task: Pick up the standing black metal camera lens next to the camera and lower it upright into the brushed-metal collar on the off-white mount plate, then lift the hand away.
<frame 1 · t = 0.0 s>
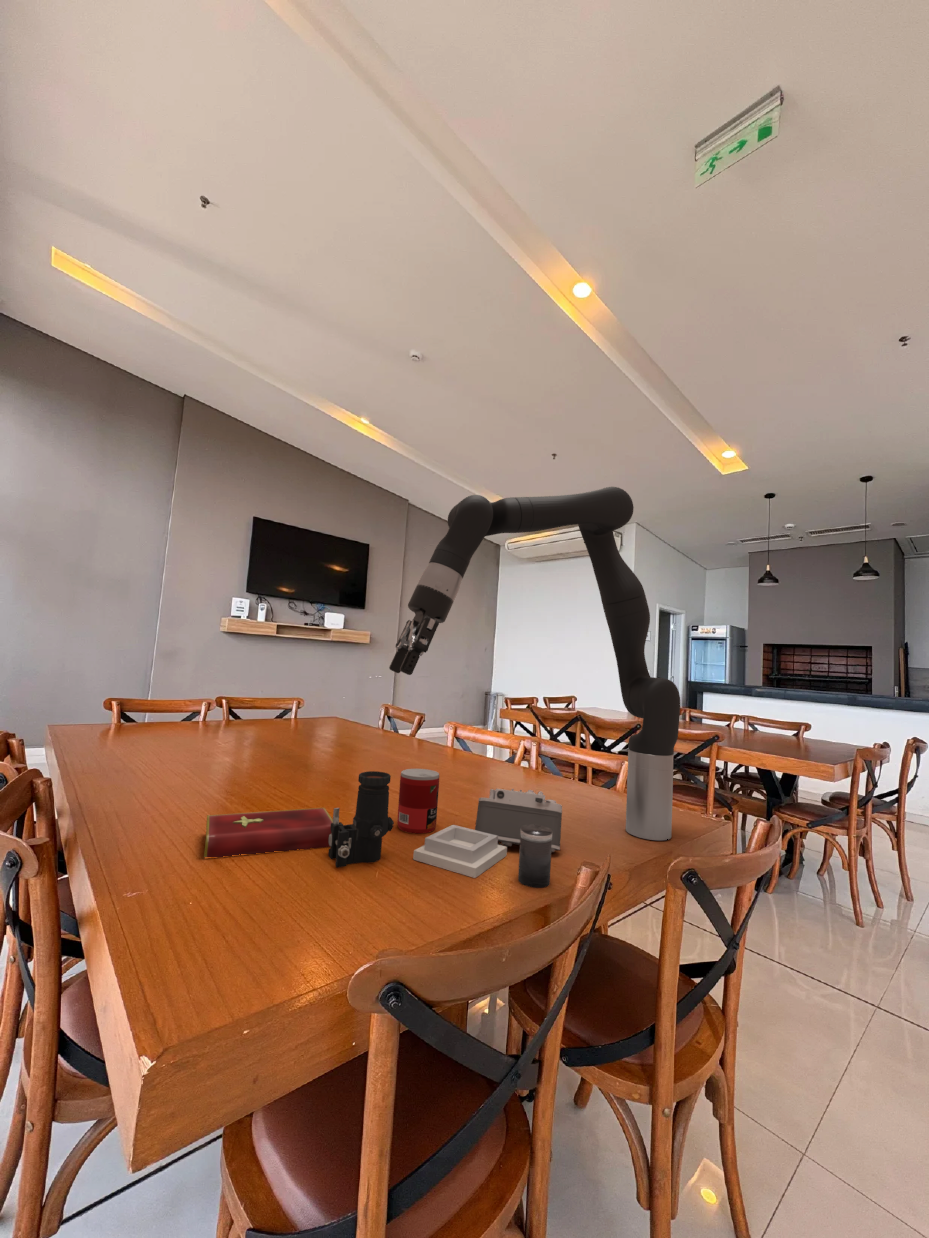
hand: (399, 672, 92), 31 cm above the table, tool tilted 20°, fingers open, 8 cm apart
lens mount: (461, 857, 89), on the table
lens: (533, 881, 81), on the table
canned food: (416, 828, 103), on the table
camera: (516, 844, 98), on the table, touching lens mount
hardcover book: (269, 844, 91), on the table
scope: (361, 859, 86), on the table
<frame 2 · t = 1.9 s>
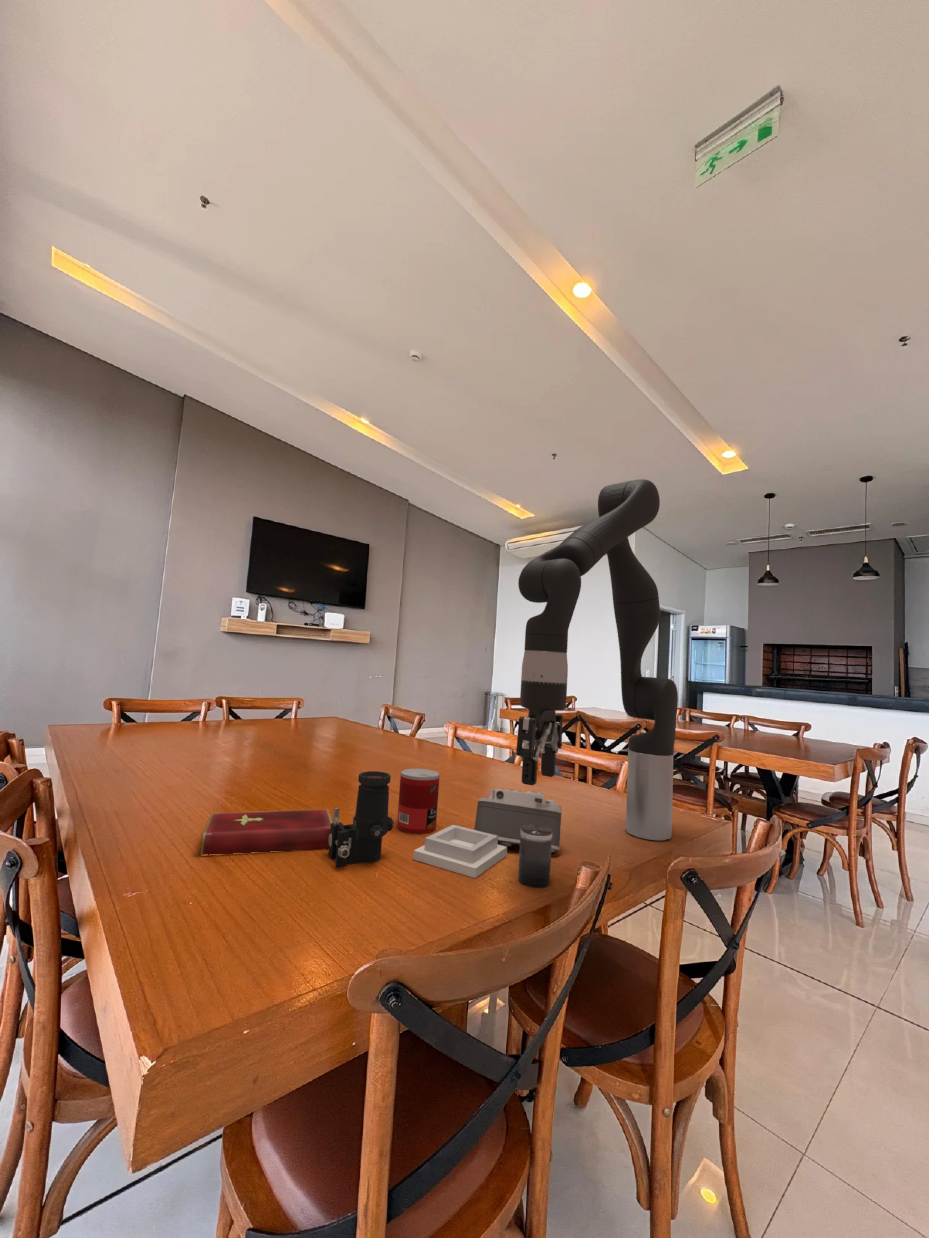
hand: (538, 779, 82), 16 cm above the table, tool pointing down, fingers open, 8 cm apart
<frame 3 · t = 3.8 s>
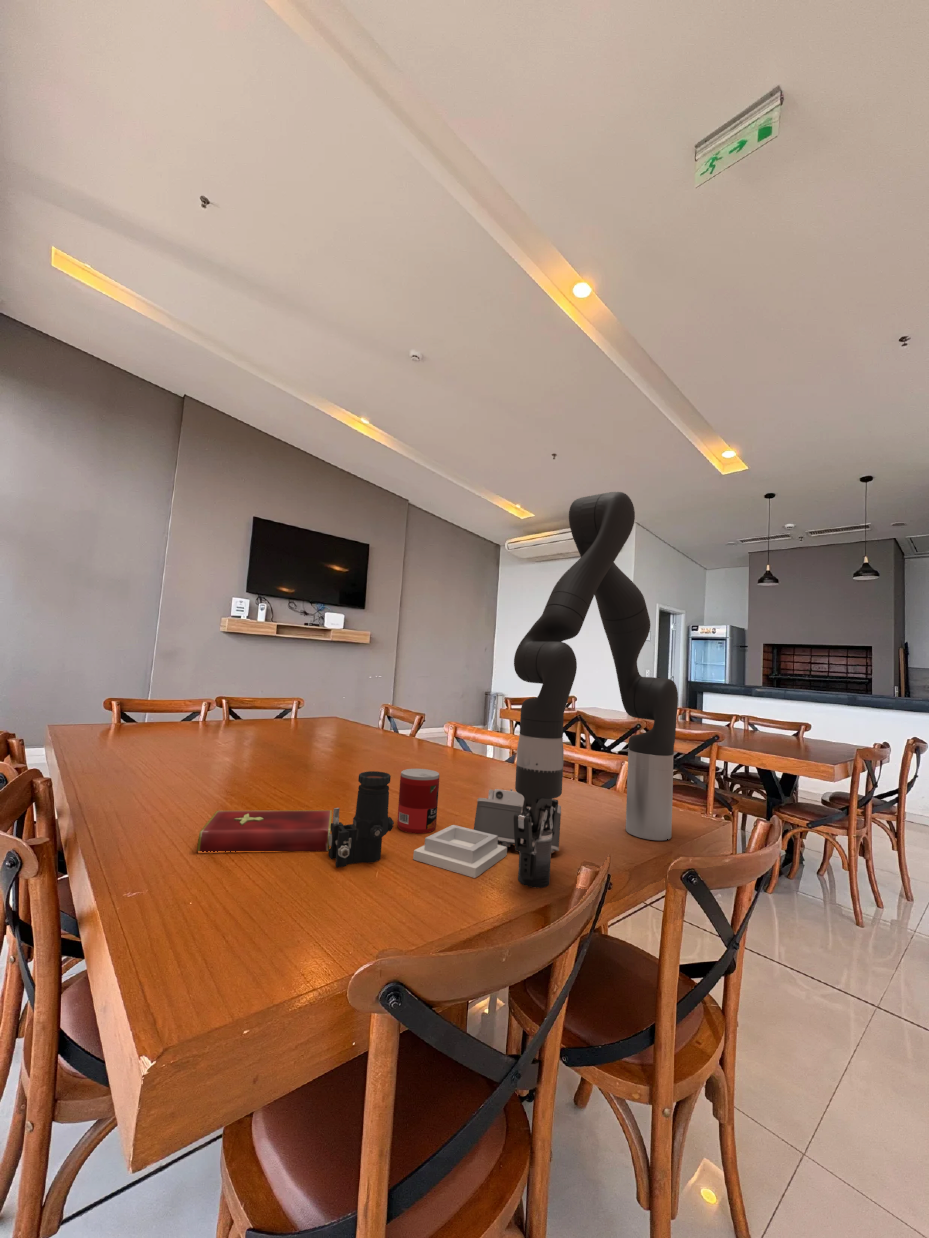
hand: (534, 871, 81), 1 cm above the table, tool pointing down, fingers closed on lens, 5 cm apart
lens: (533, 880, 81), on the table, touching gripper
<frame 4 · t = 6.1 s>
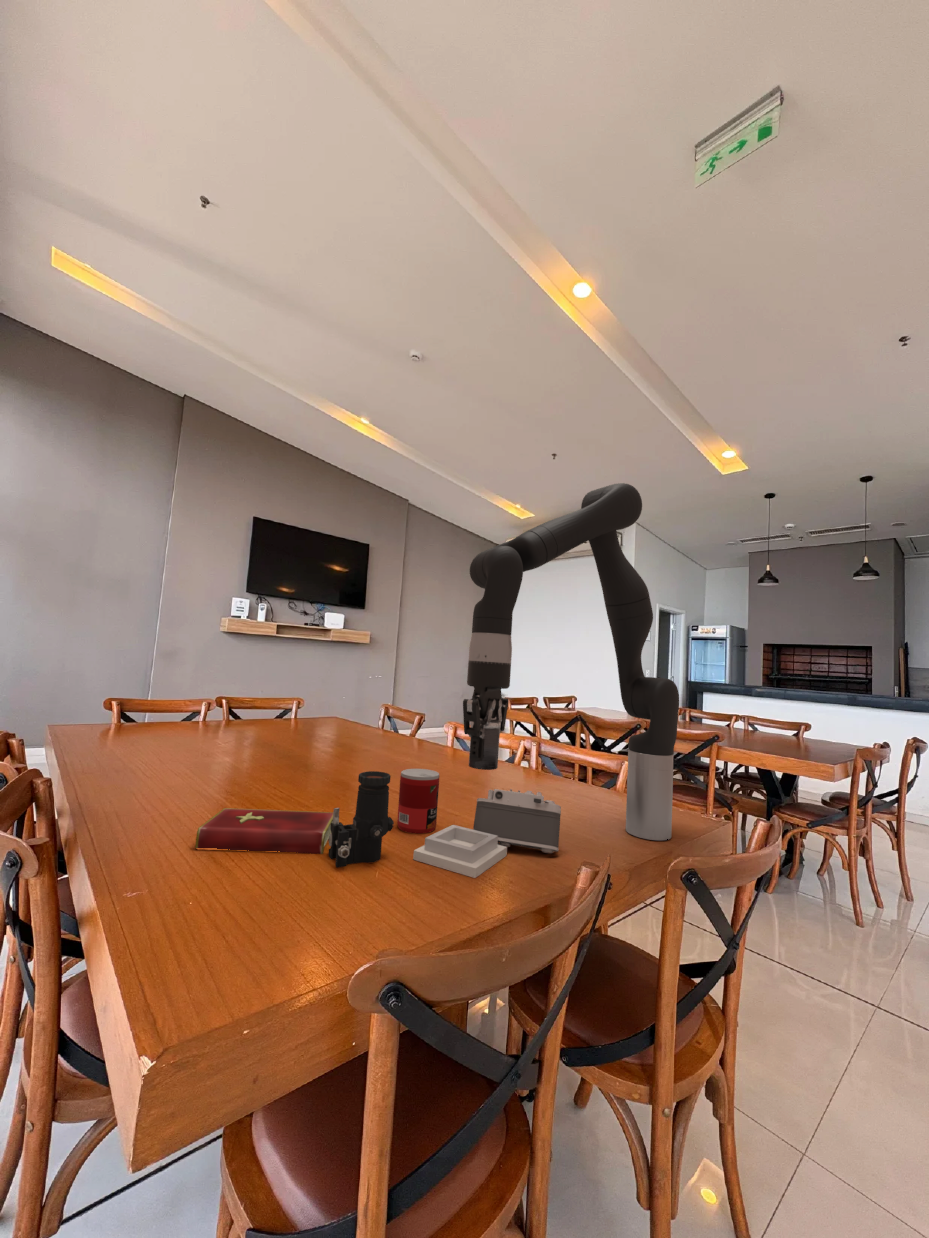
hand: (483, 758, 88), 18 cm above the table, tool pointing down, fingers closed on lens, 5 cm apart
lens: (483, 766, 88), point 16 cm above the table, touching gripper
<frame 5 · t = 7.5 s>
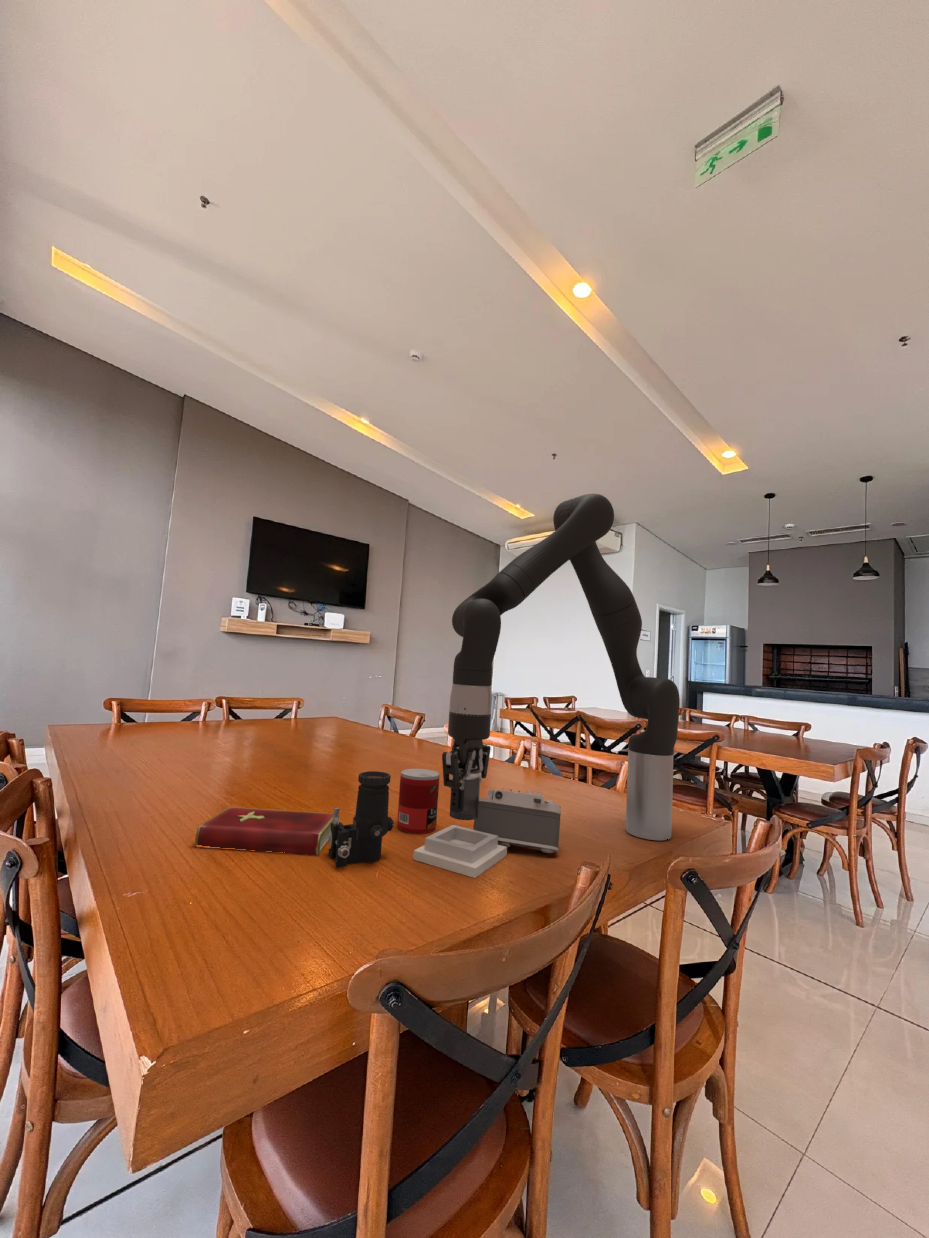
hand: (464, 807, 90), 9 cm above the table, tool pointing down, fingers closed on lens, 5 cm apart
lens: (463, 815, 89), point 7 cm above the table, touching gripper
when the fingers open (4 cm above the table, at t = 8.8 s): lens drops 1 cm, resting on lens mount.
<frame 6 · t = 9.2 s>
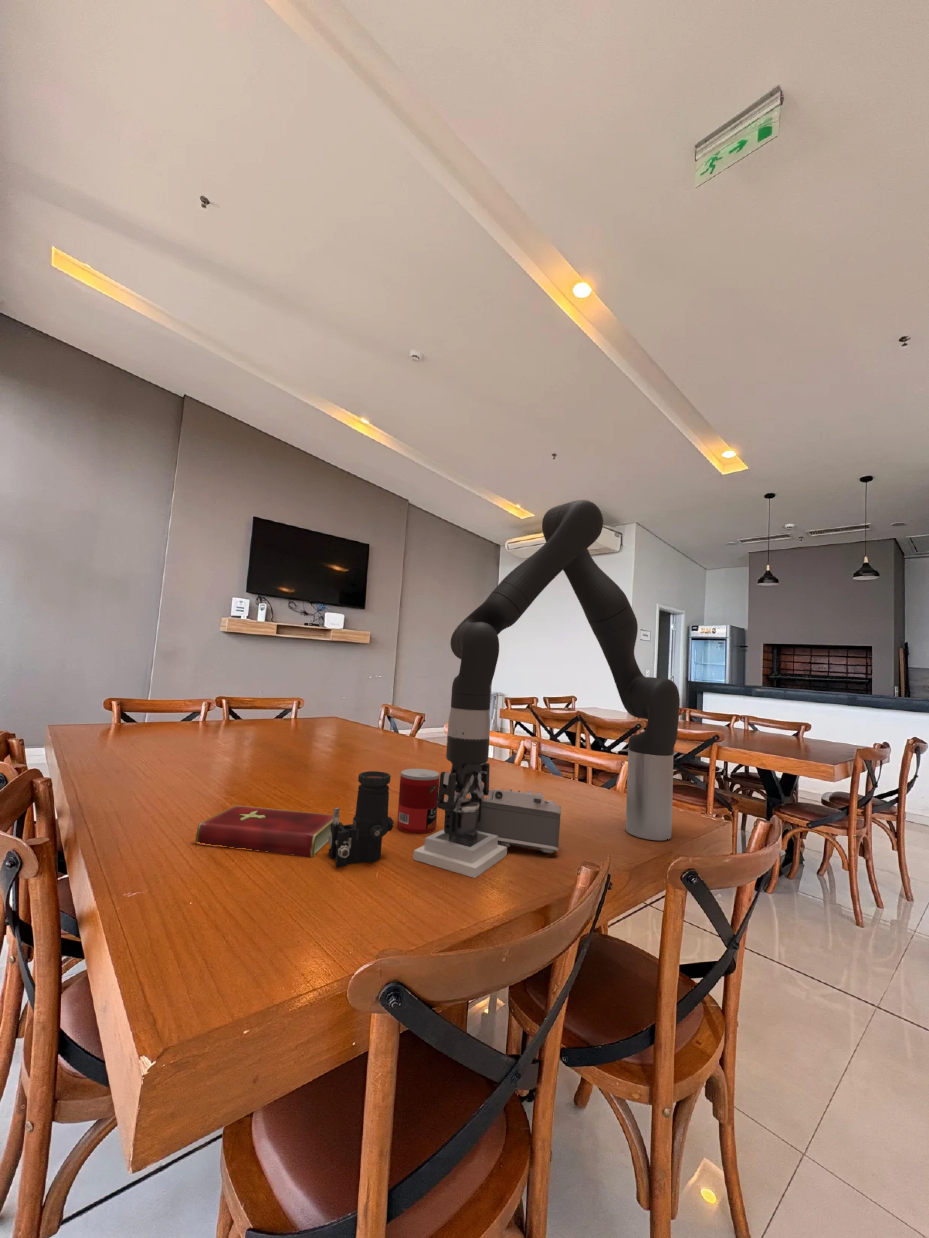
hand: (462, 827, 89), 5 cm above the table, tool pointing down, fingers open, 8 cm apart
lens: (462, 848, 89), point 2 cm above the table, touching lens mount
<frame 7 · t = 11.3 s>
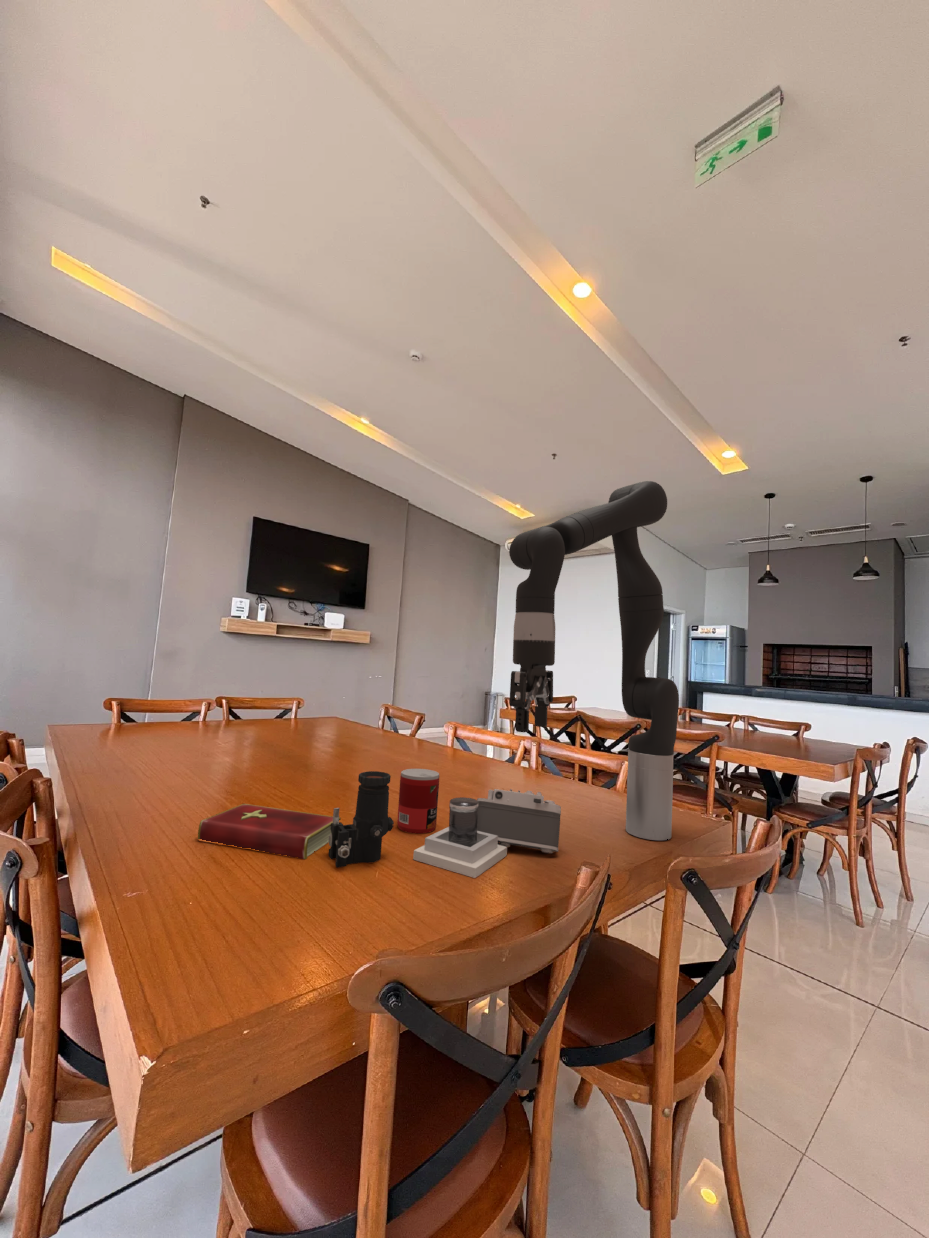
hand: (531, 729, 91), 23 cm above the table, tool pointing down, fingers open, 8 cm apart
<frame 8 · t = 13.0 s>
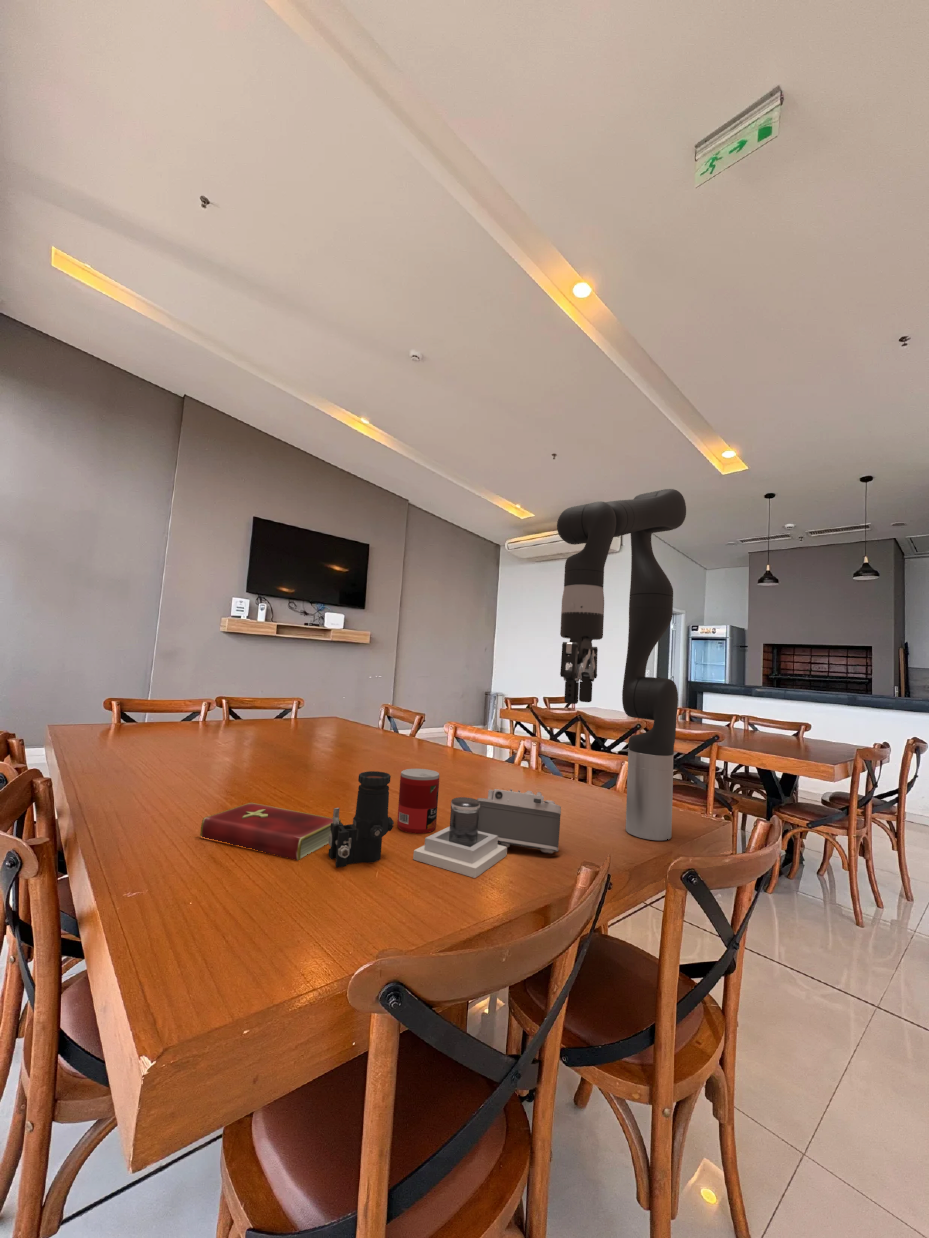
hand: (578, 702, 91), 28 cm above the table, tool pointing down, fingers open, 8 cm apart
at the end: lens 0.2 cm off-centre on the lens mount, point 1.6 cm above the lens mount's base; lens tilted 2°; the gripper is holding nothing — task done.
